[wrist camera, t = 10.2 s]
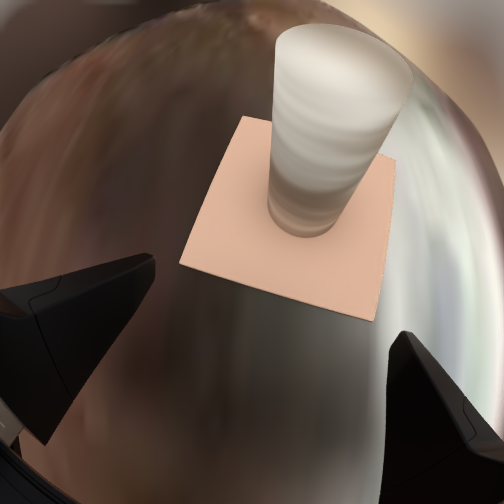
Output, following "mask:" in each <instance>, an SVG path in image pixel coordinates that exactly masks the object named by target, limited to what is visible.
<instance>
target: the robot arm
mask: <svg viewBox="0 0 504 504" xmlns="http://www.w3.org/2000/svg"><path fill="white" fill-rule="evenodd" d="M155 266H156V259H155V257H154V256H153V255H150V254H147V253H142V254H138V255H134V256H130V257H126V258H122V259H119V260H115V261H111V262H108V263H104V264H100V265H96V266H93V267H89V268H86V269H82V270H78V271H75V272H71V273H68V274H64V275H63V276H62V275H60V276H57V277H53V278H50V279H46V280H42V281H38V282H34V283H29V284H25V285H20V286H15V287H11V288H6V289H1V290H0V504H81V503H79V502H78V501H76V500H75V499H73V498H72V497H70V496H69V495H67V494H66V493H64V492H63V491H61V490H60V489H59V488H57V487H56V486H55V485H53V484H52V483H51V482H49V481H48V480H47V479H46V478H44V477H43V476H42V475H40V474H39V473H38V472H37V471H36V470H34V469H33V468H32V467H31V466H30V465H29V464H27V463H26V462H25V461H24V460H23V459H22V455H21V449H20V443H19V436H18V435H19V434H20V432H21V431H22V430H23V428H24V429H25V430H26V431H27V432H28V433H30V434H31V435H32V436H33V437H34V438H35V439H37V440H38V441H39V442H40V443H42V444H43V445H44V446H45V445H46V444H47V443H48V441H49V440H50V438H51V436H52V435H53V433H54V431H55V430H56V428H57V426H58V425H59V423H60V422H61V420H62V418H63V417H64V415H65V414H66V412H67V410H68V409H69V407H70V406H71V404H72V403H73V400H74V399H75V398H76V396H77V395H78V393H79V392H80V390H81V389H82V387H83V386H84V384H85V383H86V381H87V380H88V378H89V377H90V375H91V374H92V372H93V371H94V369H95V368H96V367H97V365H98V364H99V362H100V361H101V359H102V358H103V356H104V355H105V354H106V352H107V351H108V349H109V348H110V347H111V345H112V344H113V342H114V341H115V340H116V338H117V337H118V335H119V334H120V333H121V331H122V330H123V329H124V327H125V326H126V324H127V323H128V322H129V320H130V319H131V318H132V316H133V315H134V313H135V312H136V310H137V309H138V307H139V305H140V304H141V302H142V300H143V298H144V297H145V295H146V293H147V292H148V290H149V288H150V287H151V285H152V283H153V282H154V279H155ZM379 504H504V442H503V441H502V440H501V438H500V437H499V436H498V435H497V434H496V432H495V431H494V430H493V429H492V428H491V427H490V425H489V424H488V423H487V422H486V421H485V420H484V418H483V417H482V416H481V415H480V414H479V413H478V411H477V410H476V409H475V408H474V406H473V405H472V404H471V403H470V401H469V400H468V399H467V397H466V396H464V394H463V392H462V391H461V390H460V389H459V387H458V386H457V385H456V384H455V382H454V381H453V380H452V379H451V377H450V376H449V375H448V374H447V373H446V371H445V370H444V369H443V368H442V366H441V365H440V364H439V363H438V362H437V361H436V359H435V358H434V357H433V356H432V355H431V353H430V352H429V351H428V350H427V349H426V348H425V346H424V345H423V344H422V343H421V342H420V341H419V340H418V338H417V337H416V336H415V335H414V334H413V333H412V332H408V331H401V332H400V333H399V335H398V336H397V338H396V339H395V341H394V342H393V344H392V345H391V347H390V350H389V359H388V373H387V385H386V433H385V450H384V463H383V474H382V483H381V491H380V497H379Z"/></svg>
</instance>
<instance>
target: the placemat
mask: <svg viewBox="0 0 504 504" xmlns="http://www.w3.org/2000/svg"><path fill="white" fill-rule="evenodd" d="M271 133H272V122H270V121H265V120H261V119H256V118H251V117H246V116H243V117H242V119H241V121H240V123H239V125H238V127H237V129H236V131H235V133H234V136H233V138H232V140H231V142H230V144H229V146H228V148H227V150H226V153H225V155H224V157H223V159H222V161H221V164H220V166H219V168H218V170H217V172H216V175H215V177H214V179H213V182H212V184H211V186H210V188H209V191H208V193H207V195H206V198H205V200H204V202H203V205H202V207H201V210H200V212H199V214H198V217H197V219H196V222H195V224H194V227H193V229H192V231H191V234H190V236H189V239H188V241H187V244H186V247H185V249H184V252H183V254H182V257H181V259H180V262H179V264H181V265H184V266H187V267H190V268H193V269H196V270H199V271H202V272H205V273H208V274H211V275H214V276H218V277H221V278H224V279H227V280H230V281H233V282H236V283H240V284H243V285H246V286H249V287H253V288H256V289H259V290H262V291H266V292H269V293H272V294H276V295H279V296H282V297H286V298H289V299H292V300H296V301H299V302H303V303H306V304H309V305H313V306H316V307H320V308H323V309H327V310H331V311H334V312H338V313H341V314H345V315H349V316H352V317H356V318H360V319H363V320H367V321H371V322H373V321H374V317H375V313H376V308H377V303H378V299H379V294H380V289H381V283H382V278H383V272H384V267H385V261H386V254H387V247H388V240H389V233H390V225H391V216H392V206H393V195H394V181H395V162H396V160H394V159H392V158H389V157H386V156H384V155H381V154H378V153H377V154H376V156H375V158H374V160H373V161H372V163H371V165H370V167H369V168H368V170H367V172H366V173H365V175H364V177H363V179H362V180H361V182H360V184H359V185H358V187H357V189H356V190H355V192H354V194H353V195H352V197H351V199H350V200H349V202H348V203H347V205H346V207H345V208H344V210H343V212H342V213H341V215H340V216H339V218H338V220H337V221H336V223H335V224H334V226H333V227H332V228H331V229H330V230H329V231H327V232H326V233H324V234H322V235H320V236H317V237H312V238H302V237H297V236H293V235H291V234H288V233H287V232H285V231H283V230H282V229H281V228H280V227H279V226H278V225H276V223H275V222H274V221H273V219H272V217H271V215H270V213H269V210H268V185H269V168H270V151H271Z"/></svg>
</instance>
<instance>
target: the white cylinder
mask: <svg viewBox="0 0 504 504" xmlns="http://www.w3.org/2000/svg"><path fill="white" fill-rule="evenodd" d="M413 83H414V79H413V75H412V72H411V70H410V68H409V66H408V65H407V63H406V62H405V61H404V60H403V59H402V57H401V56H400V55H399V54H397V53H396V52H395V51H394V50H393V49H392V48H390V47H389V46H387V45H386V44H384V43H383V42H381V41H379V40H378V39H376V38H374V37H372V36H370V35H367V34H365V33H363V32H360V31H357V30H354V29H351V28H347V27H343V26H338V25H331V24H306V25H300V26H296V27H293V28H290V29H288V30H286V31H285V32H283V33H282V34H281V35H280V36H279V37H278V39H277V41H276V50H275V73H274V94H273V114H272V133H271V151H270V168H269V185H268V210H269V213H270V215H271V217H272V219H273V221H274V222H275V223H276V225H278V226H279V227H280V228H281V229H282V230H283V231H285V232H287V233H288V234H291V235H293V236H297V237H302V238H312V237H317V236H320V235H322V234H324V233H326V232H327V231H329V230H330V229H331V228H332V227H333V226H334V224H335V223H336V221H337V220H338V218H339V216H340V215H341V213H342V212H343V210H344V208H345V207H346V205H347V203H348V202H349V200H350V199H351V197H352V195H353V194H354V192H355V190H356V189H357V187H358V185H359V184H360V182H361V180H362V179H363V177H364V175H365V173H366V172H367V170H368V168H369V167H370V165H371V163H372V161H373V160H374V158H375V156H376V154H377V153H378V151H379V149H380V147H381V146H382V144H383V142H384V140H385V138H386V137H387V135H388V133H389V131H390V129H391V128H392V126H393V124H394V122H395V120H396V118H397V116H398V115H399V113H400V111H401V109H402V107H403V105H404V103H405V101H406V99H407V97H408V95H409V94H410V92H411V90H412V87H413Z"/></svg>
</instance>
